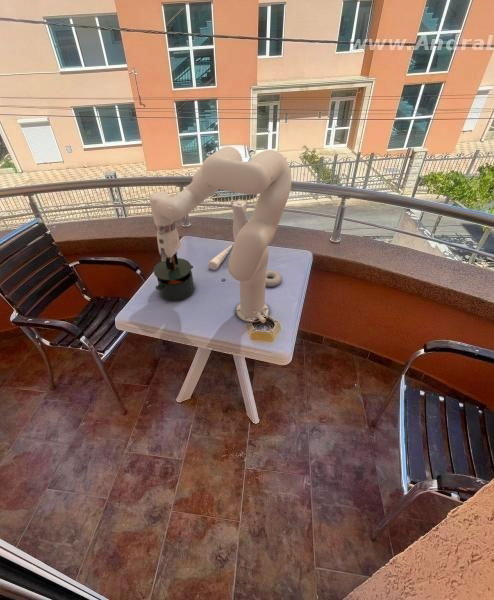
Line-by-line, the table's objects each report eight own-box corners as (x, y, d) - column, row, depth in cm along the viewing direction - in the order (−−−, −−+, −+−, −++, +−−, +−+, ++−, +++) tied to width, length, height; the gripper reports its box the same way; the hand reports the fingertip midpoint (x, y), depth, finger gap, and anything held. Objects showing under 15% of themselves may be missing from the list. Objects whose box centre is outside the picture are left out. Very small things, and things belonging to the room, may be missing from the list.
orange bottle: (191, 289, 139) (190, 282, 137) (188, 293, 137) (187, 286, 135) (169, 286, 142) (168, 279, 140) (166, 290, 140) (165, 283, 137)
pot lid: (199, 267, 134) (197, 254, 130) (172, 286, 125) (169, 272, 121) (173, 256, 142) (170, 243, 137) (146, 273, 133) (143, 259, 128)
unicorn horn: (239, 247, 165) (238, 238, 162) (216, 271, 149) (216, 263, 146) (231, 245, 167) (230, 237, 164) (208, 269, 151) (207, 260, 148)
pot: (205, 284, 142) (203, 269, 137) (172, 309, 131) (169, 293, 125) (181, 274, 149) (179, 258, 144) (149, 296, 138) (145, 280, 133)
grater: (234, 257, 157) (232, 203, 139) (231, 250, 163) (228, 196, 145) (250, 254, 159) (250, 200, 141) (245, 247, 164) (245, 194, 146)
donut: (280, 289, 137) (282, 275, 144) (281, 283, 135) (283, 269, 142) (257, 287, 139) (260, 273, 146) (257, 281, 137) (260, 267, 144)
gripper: (164, 237, 113) (172, 279, 125) (183, 217, 125) (188, 257, 137) (145, 235, 115) (155, 276, 127) (165, 215, 127) (172, 255, 139)
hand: (172, 266), depth 132 cm, fingers closed on pot lid, 3 cm apart
